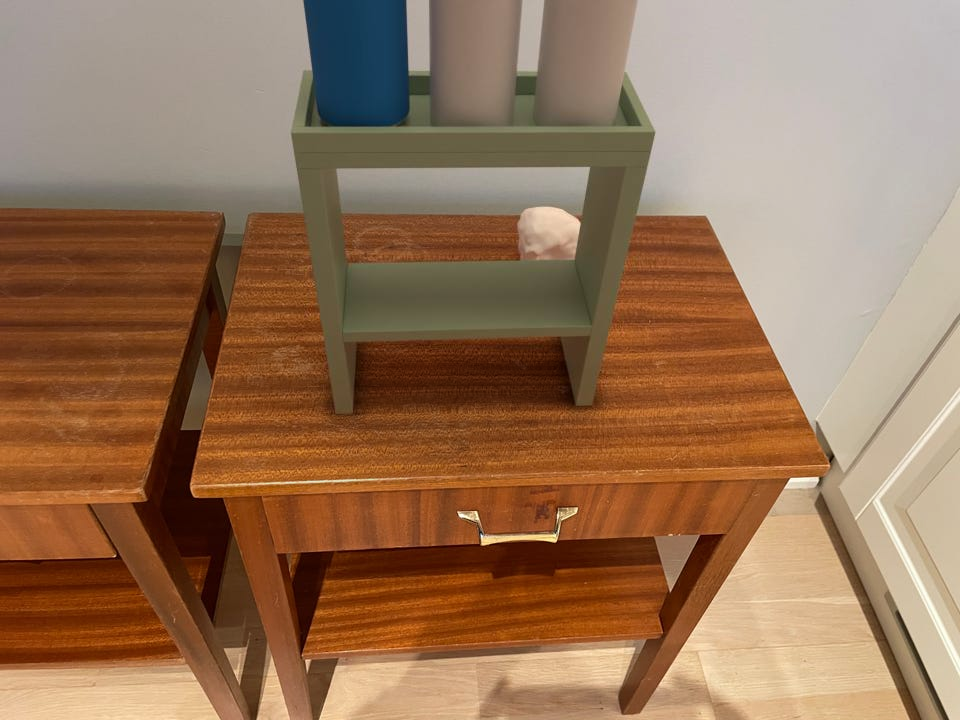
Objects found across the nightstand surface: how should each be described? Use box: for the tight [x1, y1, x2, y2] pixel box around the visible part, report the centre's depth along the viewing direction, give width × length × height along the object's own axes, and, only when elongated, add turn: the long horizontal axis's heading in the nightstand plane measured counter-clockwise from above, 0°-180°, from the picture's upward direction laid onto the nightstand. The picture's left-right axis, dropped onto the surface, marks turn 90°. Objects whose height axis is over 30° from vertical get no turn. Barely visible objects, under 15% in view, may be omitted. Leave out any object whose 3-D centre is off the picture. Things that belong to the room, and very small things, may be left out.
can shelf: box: [290, 0, 656, 170], centre depth 49 cm, size 24×9×13 cm, turn 94°
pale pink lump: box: [516, 206, 581, 260], centre depth 81 cm, size 6×8×12 cm
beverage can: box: [302, 0, 410, 127], centre depth 48 cm, size 6×6×12 cm
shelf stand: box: [296, 166, 648, 415], centre depth 63 cm, size 24×9×26 cm, turn 94°
